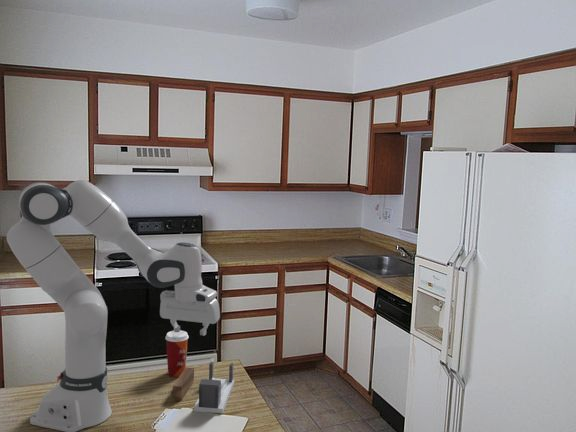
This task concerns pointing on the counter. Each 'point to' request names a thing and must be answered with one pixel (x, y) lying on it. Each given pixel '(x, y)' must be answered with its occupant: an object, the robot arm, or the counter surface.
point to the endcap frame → (214, 392)
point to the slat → (183, 384)
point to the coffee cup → (176, 352)
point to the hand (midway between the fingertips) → (190, 333)
